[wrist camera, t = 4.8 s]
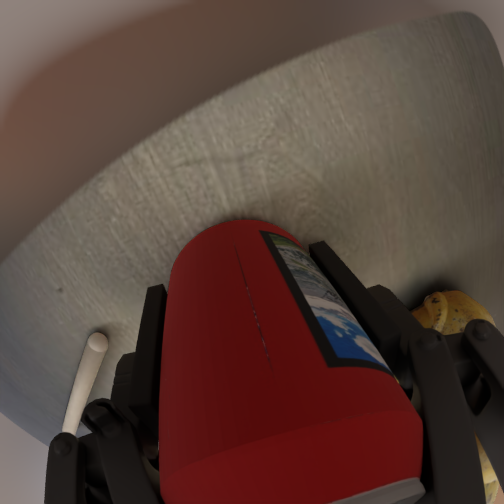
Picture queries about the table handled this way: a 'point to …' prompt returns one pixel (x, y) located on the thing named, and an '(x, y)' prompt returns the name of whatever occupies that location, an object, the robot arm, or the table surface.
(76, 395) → the wooden stick
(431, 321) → the decorative figurine
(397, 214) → the table surface
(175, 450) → the beverage can
